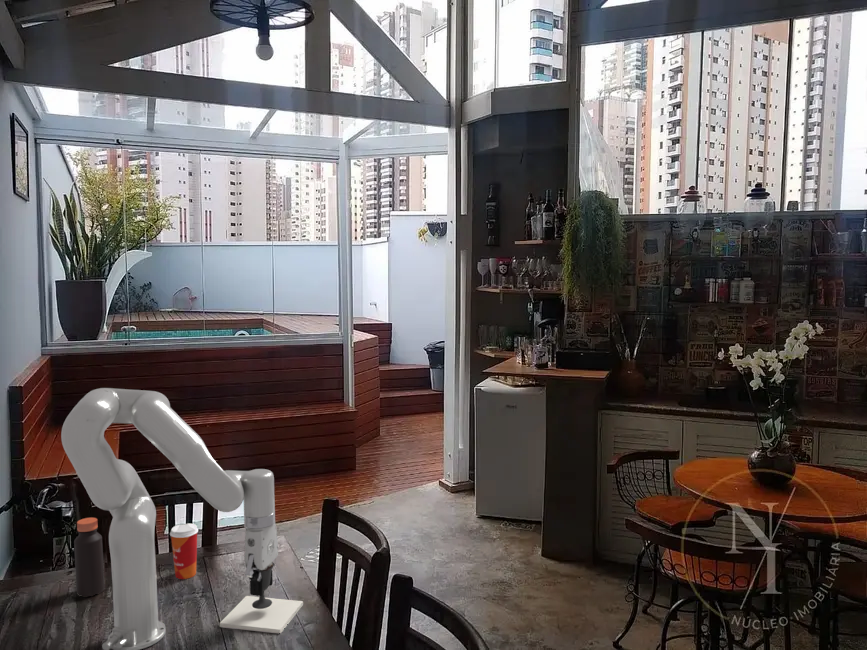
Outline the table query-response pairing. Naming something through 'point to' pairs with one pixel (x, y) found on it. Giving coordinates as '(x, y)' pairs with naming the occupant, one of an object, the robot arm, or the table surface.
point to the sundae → (264, 587)
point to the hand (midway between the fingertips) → (261, 589)
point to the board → (262, 615)
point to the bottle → (89, 558)
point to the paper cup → (184, 550)
